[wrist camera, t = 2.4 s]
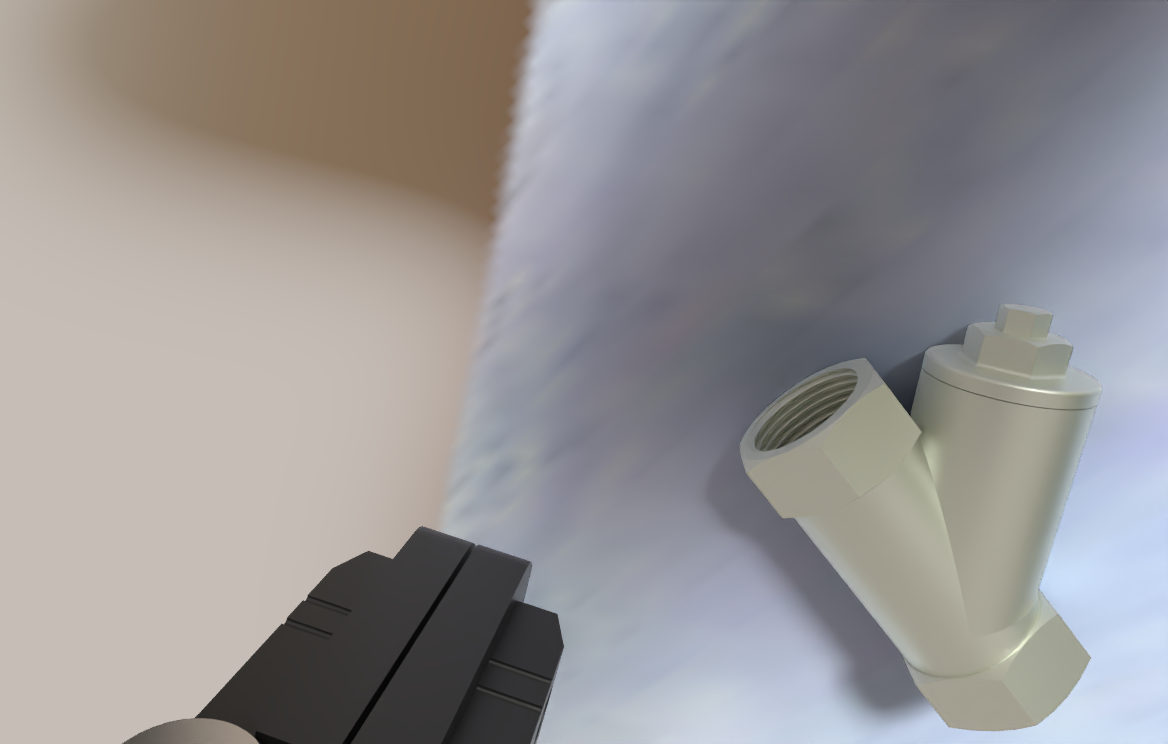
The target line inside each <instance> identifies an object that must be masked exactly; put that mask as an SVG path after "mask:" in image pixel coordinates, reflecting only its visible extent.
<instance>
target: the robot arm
mask: <svg viewBox="0 0 1168 744" xmlns="http://www.w3.org/2000/svg"><path fill="white" fill-rule="evenodd" d="M531 568H532V562H530V561H527V560H524V559H521V558H518V557H515V556H512V555H509V554H506V553H503V552H500V551H496V550H493V549H490V548H487V547H484V546H481V545H477V546H476V545H475V544H474V543H471V542H468V541H465V540H462V539H459V538H456V537H453V536H450V535H447V534H444V533H441V532H438V531H435V530H432V529H429V528H426V527H423V526H422V527H419V528H418V529H417V530H416V531H415V532H414V534H413V535H412V536H411V537H410V539H409V540H408V541H407V542H406V544H405V545H404V546H403V547H402V549H401V550H400V551H399V552H398V554H397V555H396V556H395V557H394V559H391V558H387V557H385V556H382V555H379V554H376V553H373V552H370V551H368V552H365V553H363V554H361V555H359V556H357V557H355V558H353V559H351V560H349V561H347V562H345V563H343V564H340V565H339V566H337V567H334V568H333V569H331V571H330V572H329V573H328V574H327V575H326V576H325V577H324V578H323V579H322V580H321V581H320V583H319V584H318V585H317V586H316V587H315V588H314V589H313V590H312V591H311V592H310V593H309V595H308V597H307V599H306V601H302V602H301V603H300V604H299V605H298V607H297V608H296V609H295V610H294V611H293V612H292V613H291V614H290V615H289V616H288V618H287V620H286V623H285V624H281V625H280V626H279V627H278V629H277V630H276V631H275V632H274V633H273V634H272V635H271V636H270V637H269V638H268V639H267V640H266V641H265V642H264V644H263V645H262V646H261V647H260V648H259V649H258V650H257V651H256V652H255V653H254V654H253V656H252V657H251V658H250V659H249V660H248V661H247V662H246V663H245V664H244V666H242V668H241V669H240V670H239V671H238V672H237V673H236V674H235V675H234V676H233V677H232V679H231V680H230V681H229V682H228V683H227V684H226V685H225V686H224V687H223V688H222V689H221V690H220V692H219V693H218V694H217V695H216V696H215V697H214V698H213V699H212V700H211V701H210V702H209V703H208V705H207V706H206V707H205V708H204V709H203V710H202V711H201V712H200V713H199V714H198V715H197V716H196V717H195V718H193V719H182V720H177V721H172V722H167V723H164V724H161V725H158V726H155V727H152V728H150V729H147V730H145V731H143V732H141V733H139V734H137V735H135V736H134V737H132V738H130V739H129V740H127V741H126V742H124V743H122V744H536V743H537V740H538V736H539V733H540V729H541V726H542V722H543V719H544V715H545V712H546V708H547V705H548V701H549V698H550V694H551V691H552V687H553V683H554V680H555V676H556V673H557V669H558V666H559V662H560V659H561V655H562V652H563V648H564V645H563V640H562V635H561V630H560V625H559V620H558V615H557V614H555V613H552V612H549V611H546V610H543V609H541V608H538V607H535V606H532V605H529V604H526V603H523V601H524V597H525V593H526V589H527V585H528V581H529V577H530V573H531Z"/></svg>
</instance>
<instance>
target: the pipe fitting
mask: <svg viewBox="0 0 1168 744" xmlns="http://www.w3.org/2000/svg"><path fill="white" fill-rule="evenodd" d="M1052 318H1053V315H1052V314H1051V313H1050V312H1049V311H1047V310H1044V309H1040V308H1036V307H1031V306H1026V305H1019V304H1003V305H1000V307H999V310H998V314H997V318H996V322H977V323H973V324H970V325H968V328H967V332H966V336H965V340H964V344H963V345H961V344H943V345H936V346H932V347H930V348H929V349H927V350H926V352H925V356H924V360H923V364H922V369H921V373H920V377H919V381H918V385H917V389H916V393H915V397H914V401H913V406H912V410H911V414H910V416H909V414H908V413H907V412H906V410H905V409H904V408H903V406H902V405H901V404H900V402H899V401H898V400H897V398H896V397H895V396H894V394H893V393H892V392H891V390H890V389H889V388H888V386H887V385H886V384H885V382H884V381H883V380H882V378H881V377H880V376H879V375H878V373H877V372H876V371H875V369H874V368H873V367H872V365H871V364H870V363H869V362H868V360H867V359H866V358H859V359H854V360H849V361H844V362H840V363H837V364H835V365H832V366H829V367H827V368H825V369H823V370H820V371H818V372H816V373H815V374H813V375H811V376H809V377H807V378H806V379H804V380H802V381H801V382H799V383H798V384H796V385H794V386H793V387H792V388H790V389H789V390H787V391H786V392H785V393H783V394H782V395H781V396H779V397H778V398H777V399H776V400H775V401H773V402H772V403H771V404H770V405H769V406H768V407H767V408H766V409H765V410H764V411H763V412H762V413H761V414H760V415H759V416H758V417H757V418H756V419H755V420H754V421H753V423H752V424H751V425H750V427H749V428H748V430H747V431H746V433H745V434H744V436H743V438H742V440H741V442H740V454H741V458H742V462H743V465H744V468H745V471H746V474H747V475H748V476H749V477H750V479H751V480H752V481H753V482H754V484H755V485H756V486H757V487H758V489H759V490H760V491H761V492H762V494H763V495H764V496H765V497H766V499H767V500H768V501H769V502H770V504H771V505H772V506H773V507H774V509H775V510H776V511H777V512H778V514H779V515H780V516H781V517H782V518H794V519H795V520H796V521H797V522H798V524H799V525H800V526H801V527H802V529H803V530H804V531H805V532H806V534H807V535H808V536H809V537H810V539H811V540H812V541H813V542H814V544H815V545H816V546H817V548H818V549H819V550H820V551H821V553H822V554H823V555H824V556H825V558H826V559H827V560H828V561H829V563H830V564H831V565H832V566H833V568H834V569H835V570H836V571H837V573H838V574H839V575H840V576H841V578H842V579H843V580H844V581H845V583H846V584H847V585H848V586H849V588H850V589H851V590H852V591H853V593H854V594H855V595H856V597H857V598H858V599H859V600H860V602H861V603H862V604H863V605H864V607H865V608H866V609H867V610H868V612H869V613H870V614H871V615H872V617H873V618H874V619H875V620H876V622H877V623H878V624H879V625H880V627H881V628H882V629H883V631H884V632H885V633H886V634H887V636H888V637H889V638H890V639H891V641H892V642H893V643H894V644H895V646H896V647H897V648H898V649H899V651H900V652H901V654H902V656H903V658H904V661H905V663H906V665H907V668H908V670H909V672H910V674H911V676H912V678H913V680H914V682H915V685H916V687H917V688H918V689H919V690H920V692H921V693H922V694H923V695H924V697H925V698H926V699H927V700H928V702H929V703H930V704H931V705H932V707H933V708H934V709H935V710H936V712H937V713H938V714H939V715H940V717H941V718H942V719H943V720H944V722H945V723H946V724H947V725H948V727H951V728H958V729H966V730H977V731H1004V730H1016V729H1021V728H1026V727H1031V726H1035V725H1037V724H1039V723H1040V722H1041V721H1043V720H1044V719H1045V718H1046V717H1048V716H1049V715H1050V714H1051V713H1052V712H1053V711H1054V710H1055V709H1056V708H1057V707H1058V706H1059V705H1060V704H1061V703H1062V702H1063V701H1064V700H1065V699H1066V698H1067V697H1068V695H1069V694H1070V692H1071V691H1072V690H1073V688H1074V687H1075V685H1076V684H1077V682H1078V681H1079V679H1080V678H1081V676H1082V674H1083V672H1084V670H1085V669H1086V667H1087V665H1088V663H1089V661H1090V659H1091V657H1090V656H1089V654H1088V653H1087V652H1086V650H1085V649H1084V648H1083V646H1082V645H1081V644H1080V642H1079V641H1078V640H1077V638H1076V637H1075V636H1074V634H1073V633H1072V632H1071V630H1070V629H1069V628H1068V626H1067V625H1066V624H1065V622H1064V621H1063V620H1062V618H1061V617H1060V616H1059V614H1058V613H1057V612H1056V610H1055V609H1054V608H1053V606H1052V605H1051V604H1050V603H1049V601H1048V600H1047V599H1046V597H1045V596H1044V595H1043V593H1042V592H1041V591H1040V589H1039V586H1040V583H1041V580H1042V577H1043V573H1044V570H1045V567H1046V564H1047V561H1048V558H1049V555H1050V552H1051V548H1052V545H1053V542H1054V539H1055V536H1056V533H1057V530H1058V527H1059V523H1060V520H1061V517H1062V514H1063V511H1064V508H1065V505H1066V501H1067V498H1068V495H1069V492H1070V489H1071V486H1072V482H1073V479H1074V476H1075V473H1076V470H1077V467H1078V463H1079V460H1080V457H1081V454H1082V451H1083V448H1084V444H1085V441H1086V438H1087V435H1088V432H1089V429H1090V426H1091V422H1092V419H1093V416H1094V413H1095V410H1096V407H1097V404H1098V401H1099V398H1100V395H1101V392H1102V385H1101V383H1100V382H1099V381H1098V380H1097V379H1095V378H1094V377H1092V376H1091V375H1089V374H1087V373H1085V372H1083V371H1080V370H1078V369H1075V368H1073V367H1070V366H1068V363H1069V360H1070V357H1071V353H1072V350H1073V346H1072V345H1071V344H1070V343H1069V341H1067V340H1066V339H1065V338H1063V337H1061V336H1059V335H1056V334H1053V333H1050V332H1049V328H1050V325H1051V321H1052Z"/></svg>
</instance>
